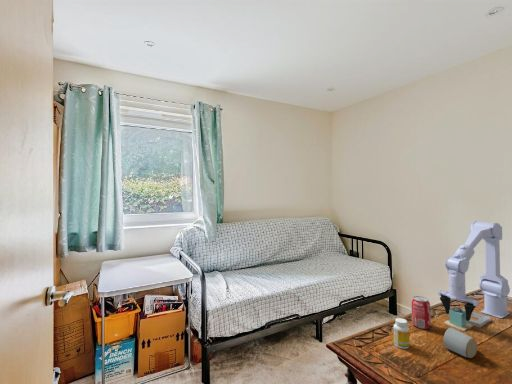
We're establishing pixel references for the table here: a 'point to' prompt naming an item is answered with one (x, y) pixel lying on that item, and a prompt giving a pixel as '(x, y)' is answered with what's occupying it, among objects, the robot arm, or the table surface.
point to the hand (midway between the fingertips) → (457, 316)
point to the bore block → (481, 321)
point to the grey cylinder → (460, 343)
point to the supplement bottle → (401, 333)
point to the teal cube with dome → (457, 317)
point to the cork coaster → (458, 326)
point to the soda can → (421, 312)
